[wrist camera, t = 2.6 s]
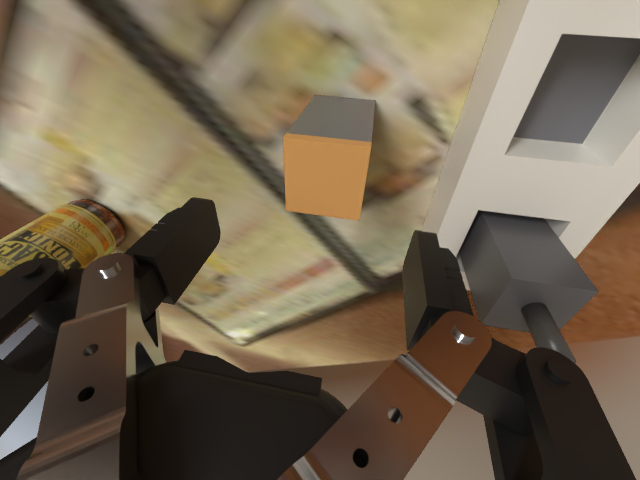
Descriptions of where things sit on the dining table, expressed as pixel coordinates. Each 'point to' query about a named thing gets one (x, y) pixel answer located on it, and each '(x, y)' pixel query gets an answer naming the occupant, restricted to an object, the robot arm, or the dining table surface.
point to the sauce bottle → (63, 238)
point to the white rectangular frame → (541, 159)
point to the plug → (329, 157)
